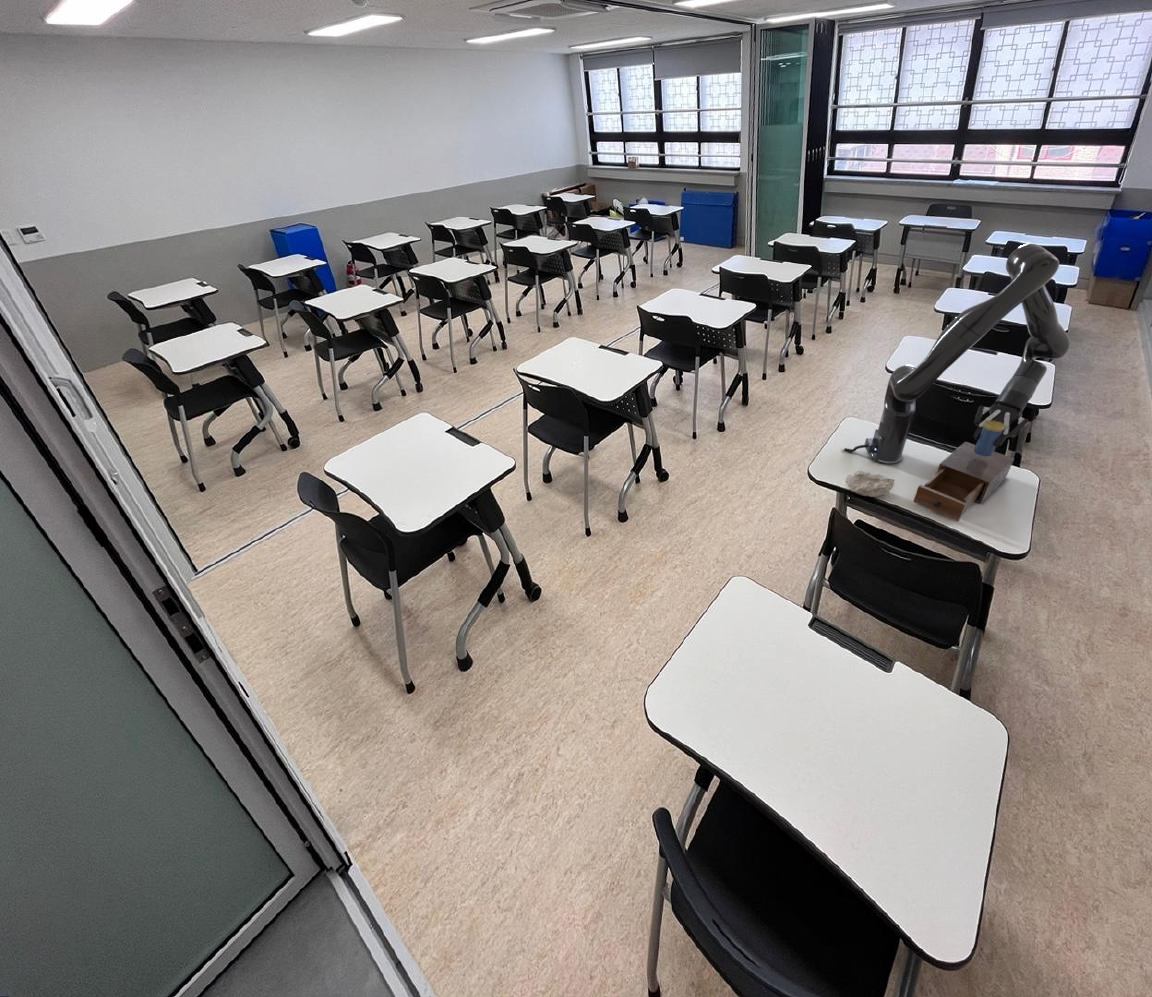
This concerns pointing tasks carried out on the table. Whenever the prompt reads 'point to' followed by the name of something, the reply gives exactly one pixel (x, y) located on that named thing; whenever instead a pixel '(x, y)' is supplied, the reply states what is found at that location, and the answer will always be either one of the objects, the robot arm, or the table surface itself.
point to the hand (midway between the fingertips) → (985, 442)
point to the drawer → (949, 493)
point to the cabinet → (979, 467)
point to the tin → (988, 437)
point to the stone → (869, 484)
